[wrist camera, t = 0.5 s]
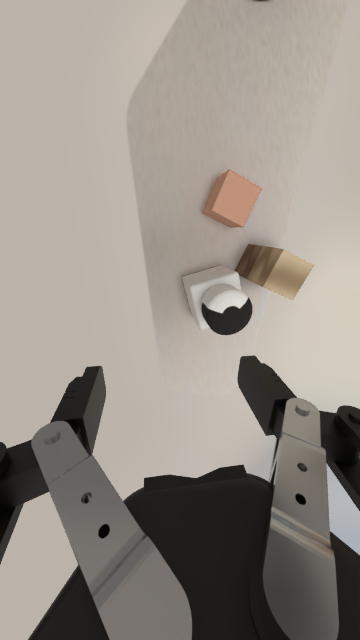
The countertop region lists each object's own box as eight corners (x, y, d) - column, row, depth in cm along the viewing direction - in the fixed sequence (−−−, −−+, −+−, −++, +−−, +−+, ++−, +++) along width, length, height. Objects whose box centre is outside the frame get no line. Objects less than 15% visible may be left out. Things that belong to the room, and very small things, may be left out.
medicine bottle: (229, 303, 39) (262, 332, 28) (191, 314, 39) (209, 348, 28) (222, 264, 36) (255, 279, 25) (181, 276, 36) (197, 297, 25)
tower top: (263, 246, 31) (283, 249, 26) (290, 260, 32) (314, 265, 28) (246, 278, 33) (262, 286, 28) (272, 290, 34) (292, 300, 29)
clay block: (217, 177, 31) (229, 168, 27) (246, 194, 33) (262, 188, 28) (202, 212, 33) (211, 210, 28) (230, 227, 34) (243, 227, 30)
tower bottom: (248, 244, 36) (263, 246, 31) (272, 256, 37) (290, 260, 32) (234, 272, 37) (246, 278, 33) (257, 283, 38) (272, 290, 34)
